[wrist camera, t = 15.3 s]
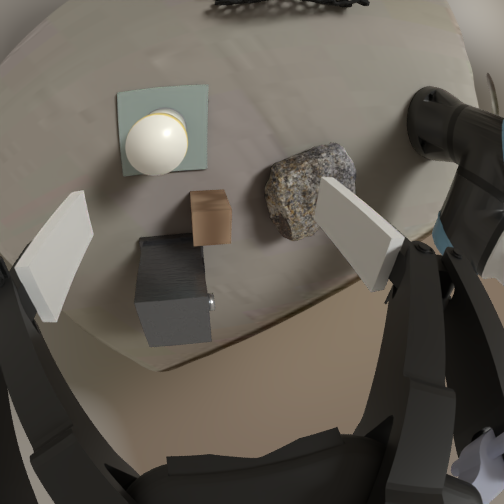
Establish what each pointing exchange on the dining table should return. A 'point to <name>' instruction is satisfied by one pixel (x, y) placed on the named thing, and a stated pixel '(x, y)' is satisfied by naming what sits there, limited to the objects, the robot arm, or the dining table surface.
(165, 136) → the cartridge
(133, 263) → the dining table surface
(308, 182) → the rock
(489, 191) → the robot arm
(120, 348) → the dining table surface
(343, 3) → the decorative element
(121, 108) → the mat
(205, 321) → the box
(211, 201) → the walnut block
